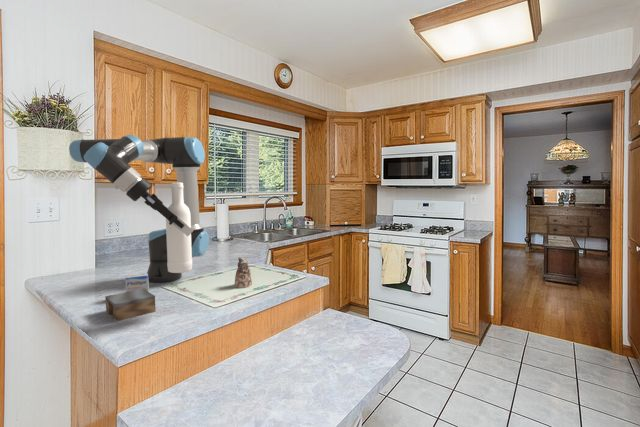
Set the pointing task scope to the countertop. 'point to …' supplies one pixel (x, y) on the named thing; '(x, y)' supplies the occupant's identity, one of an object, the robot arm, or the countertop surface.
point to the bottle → (178, 234)
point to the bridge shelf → (130, 304)
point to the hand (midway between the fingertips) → (189, 231)
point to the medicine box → (136, 282)
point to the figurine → (243, 274)
